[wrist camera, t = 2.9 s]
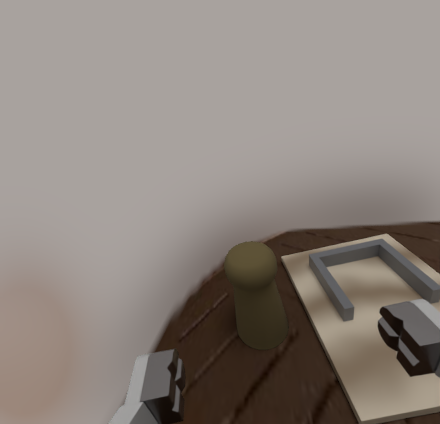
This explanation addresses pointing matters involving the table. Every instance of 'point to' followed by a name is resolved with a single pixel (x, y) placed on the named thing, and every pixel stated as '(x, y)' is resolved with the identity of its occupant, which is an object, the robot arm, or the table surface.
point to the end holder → (364, 251)
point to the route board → (366, 334)
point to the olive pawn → (256, 295)
